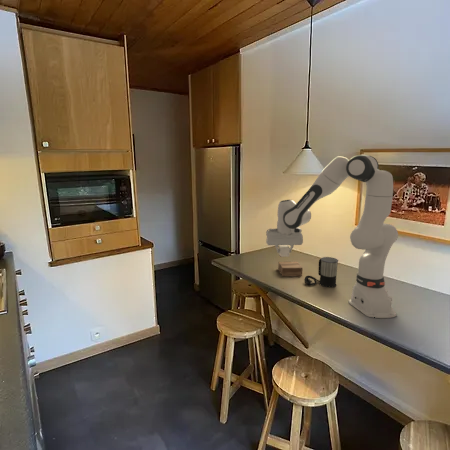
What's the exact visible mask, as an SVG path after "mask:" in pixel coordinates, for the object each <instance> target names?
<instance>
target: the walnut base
mask: <svg viewBox="0 0 450 450" xmlns="http://www.w3.org/2000/svg"><path fill="white" fill-rule="evenodd" d="M277 266H278V267H277V269H279V270H278V272H279V273H280V274H282V275H281V276H282V277H302V276H303V266H302V265H301V264H300V263H299V262H298V261H278V265H277Z"/></svg>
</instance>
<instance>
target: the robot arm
mask: <svg viewBox="0 0 450 450" xmlns="http://www.w3.org/2000/svg"><path fill="white" fill-rule="evenodd" d="M349 177H350V178H352V179H354V180H357V181H360V182H363V183H365V184H366V191H365V199H364V207H363V212H362V215H361V217H360V219H359V222H358V224H357V226H355V228H354V229H353V230H352V231H351V232H350V236H349V239H350V240H349V241H350V242H351V243H350V244H351V245H352V246H353V247H354V248H355V249H357V250H363V251H364V252H363V254H361V255H360V257H359V259H358V270H357V273H356V277H355V278H356V281H355V284H354V285H353V286H352V290H351V298H350V299H348V300H347V301H348V304H349V305H351V306H352V307H354V308H355V309H357V310H358V311H359V312H360V313H362V314H363V315H364V316H366V317H369V318H374V317H375V319H376V318H377V319H389V318H391V319H392V318H394V317H395V318H396V317H397V316H398V315H397V312H396V311H395V310H394V308H393V307H392V301H393V297H392V296H389V294H388V290H387V289H386V287H385V285H386V282H385V276H384V272H385V265H386V260H387V257H388V255H389V253H390V250H391V248H392V246H393V245H394V243H395V242H396V241H397V240H398V237H399V233H398V229H397V228H396V227H395V226H394V225H392V224H390V223H389V224H388V223H385V221H386V219H387V218H388V217H389V216H390V214H391V213H392V211H391V210H392V203H393V198H394V197H393V195H394V178H393V177H394V176H393V175H392V173H391V172H390V171H387V170H384V169H383V170H382V169H381V170H380V169H379V161H378V159H376V157H374V156H371V155H367V154H357V155H354V156H352V157H351V158H350V159H348V158H347V157H344V156H339V155H338V156H336V157H335V158H333V159H332V160H331V161H330V162H329V163H328V164H327V165H326V166H325V167H324V168H323V170H322V171H321V172H320V173H319V175H318V176H317V178H316V179H315V180H314V182H313V183H312V184H311V186H310V187H309V189H308V190H307V191H306V192H305V193H304V195H302V197H300V199H299V200H298V201H297V202H295V200H293V199H284V200H280V201H279V203H278V206H277V222H276V228H269V229H267V230H266V232H265V233H266V240H265V241H266V242H265V244H267V246H275V249H276V254H277V253H278V254H279V253H280V249H279V246H282V245H288V246H290V247H289V248H290V252H289V254H291V253H292V250H293V249H294V246H302V245H303V243H304V238H303V233H302V231H303V230H302V228H301V226H304V225H305V224H307V223H309V222H310V221H311V219H312V213H311V211H310V208H311V207H312V206H313V205H314V204H315V203H316V202H318V201H320V200H321V199H323V198H325V197H328V196H330V195H331V194H333V193H334V192H335V191H337V189H338V188H339V187H341V185H342V184H343V183H344V181H345V180H346V179H348V178H349Z"/></svg>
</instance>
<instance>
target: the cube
mask: <svg viewBox="0 0 450 450" xmlns="http://www.w3.org/2000/svg"><path fill="white" fill-rule="evenodd" d="M278 249H280V253H278V255H279V256H280V257H283V258H284V257H290V253H289V252H290V247H289V245H278Z"/></svg>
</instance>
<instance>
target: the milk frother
mask: <svg viewBox="0 0 450 450" xmlns="http://www.w3.org/2000/svg"><path fill="white" fill-rule="evenodd" d="M338 262H339V259H338V258H336V257H332V256H331V257H330V256H323V257H321V258H320V259H318V276H320V277H319V280H318V279H317V278H316V277H314V276H312V275H306V276H305V277H304V283H306V284H307V285H309V286H316V285H317V283H318V284H319V286H321V287H324V288H335V287H336V286H337V274H338ZM312 280H313V281H314V282H313V283H312Z"/></svg>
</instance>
